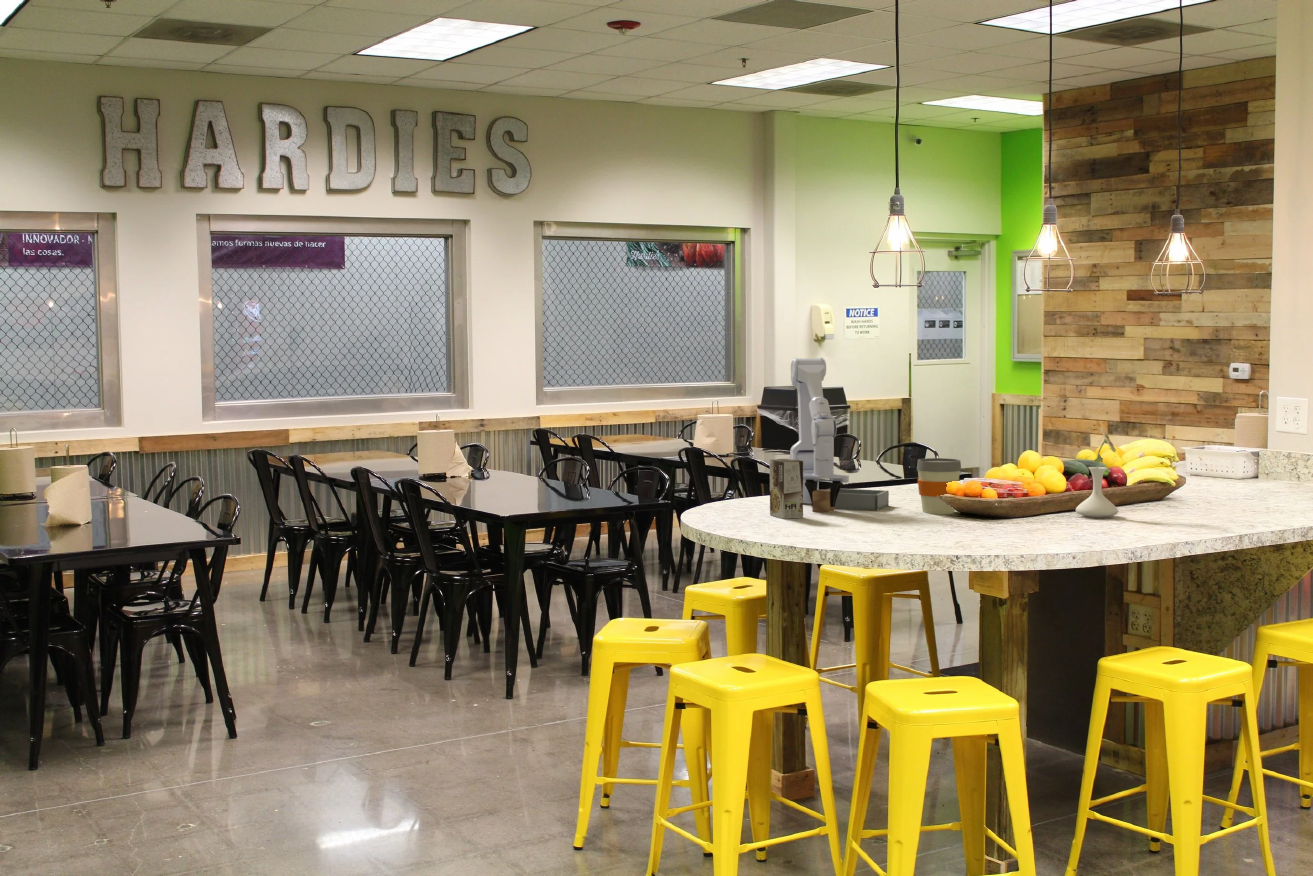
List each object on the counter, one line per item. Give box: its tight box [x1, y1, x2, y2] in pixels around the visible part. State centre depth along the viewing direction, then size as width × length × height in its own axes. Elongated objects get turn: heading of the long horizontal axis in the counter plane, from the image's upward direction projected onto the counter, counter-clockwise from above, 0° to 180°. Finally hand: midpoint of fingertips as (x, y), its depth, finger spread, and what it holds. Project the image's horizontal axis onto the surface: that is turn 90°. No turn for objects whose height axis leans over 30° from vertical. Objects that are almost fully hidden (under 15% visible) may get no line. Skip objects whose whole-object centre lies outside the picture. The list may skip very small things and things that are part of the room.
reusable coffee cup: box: [916, 457, 962, 515], centre depth 389 cm, size 13×13×15 cm
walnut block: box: [812, 489, 835, 514], centre depth 393 cm, size 5×5×6 cm
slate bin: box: [826, 487, 890, 511], centre depth 402 cm, size 18×12×4 cm, turn 65°
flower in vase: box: [1075, 426, 1119, 518], centre depth 377 cm, size 13×11×25 cm
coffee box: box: [769, 458, 804, 520], centre depth 381 cm, size 9×6×16 cm
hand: (823, 506), depth 393 cm, fingers closed on walnut block, 5 cm apart
